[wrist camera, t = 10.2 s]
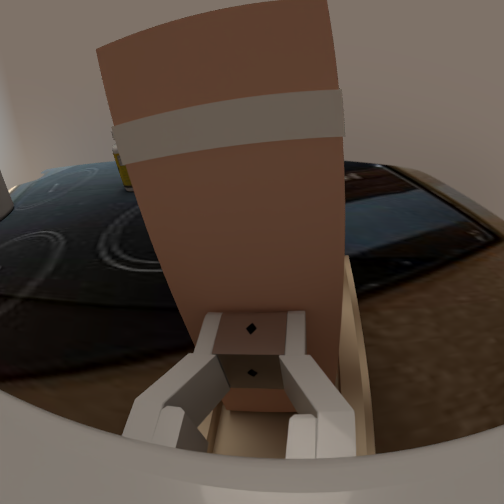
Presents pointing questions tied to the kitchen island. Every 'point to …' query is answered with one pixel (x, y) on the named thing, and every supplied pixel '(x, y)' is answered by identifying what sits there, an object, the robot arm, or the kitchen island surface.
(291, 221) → the block
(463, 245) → the kitchen island surface
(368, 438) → the chute
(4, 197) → the cylinder vase
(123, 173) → the supplement bottle
